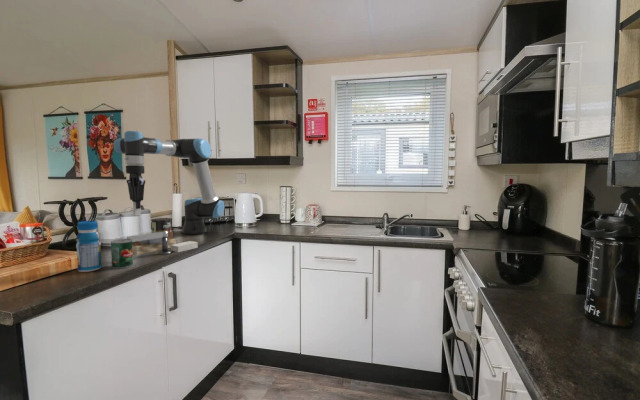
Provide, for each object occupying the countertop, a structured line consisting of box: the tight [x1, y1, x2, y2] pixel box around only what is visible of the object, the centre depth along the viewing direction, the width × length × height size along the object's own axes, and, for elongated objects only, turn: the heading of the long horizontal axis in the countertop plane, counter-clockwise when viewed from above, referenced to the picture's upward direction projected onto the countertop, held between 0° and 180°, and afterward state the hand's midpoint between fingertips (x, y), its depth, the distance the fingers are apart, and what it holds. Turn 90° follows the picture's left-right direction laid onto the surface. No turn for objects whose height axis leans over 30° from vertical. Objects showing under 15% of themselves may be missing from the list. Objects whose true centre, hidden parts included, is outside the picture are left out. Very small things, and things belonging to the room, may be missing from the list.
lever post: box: [158, 237, 173, 256], centre depth 162 cm, size 6×6×8 cm
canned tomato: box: [110, 238, 134, 269], centre depth 140 cm, size 8×8×11 cm
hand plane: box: [132, 231, 177, 256], centre depth 169 cm, size 22×6×8 cm, turn 150°
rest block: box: [170, 240, 199, 253], centre depth 171 cm, size 12×6×3 cm, turn 150°
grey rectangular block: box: [141, 238, 162, 245], centre depth 169 cm, size 10×8×4 cm
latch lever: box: [126, 231, 168, 243], centre depth 155 cm, size 19×3×2 cm, turn 143°
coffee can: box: [150, 217, 172, 233], centre depth 185 cm, size 10×10×14 cm
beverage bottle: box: [75, 220, 102, 273], centre depth 134 cm, size 8×8×20 cm
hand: (137, 215), depth 152 cm, fingers closed
